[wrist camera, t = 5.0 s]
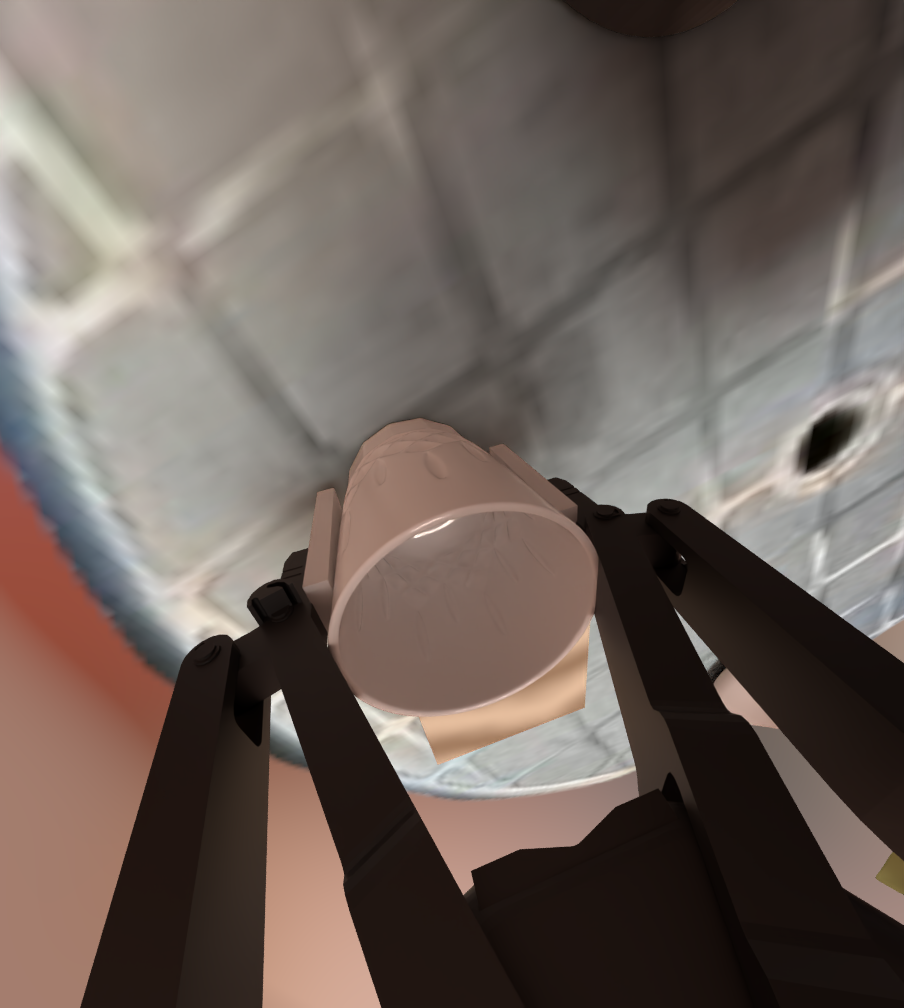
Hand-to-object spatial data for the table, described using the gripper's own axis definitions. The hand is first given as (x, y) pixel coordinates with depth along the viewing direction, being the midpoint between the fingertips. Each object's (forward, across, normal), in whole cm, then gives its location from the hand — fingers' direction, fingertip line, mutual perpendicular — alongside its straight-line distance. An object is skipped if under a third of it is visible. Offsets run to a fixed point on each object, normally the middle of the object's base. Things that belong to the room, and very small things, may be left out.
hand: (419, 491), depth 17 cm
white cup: (+1, 0, 0) cm, 1 cm away
